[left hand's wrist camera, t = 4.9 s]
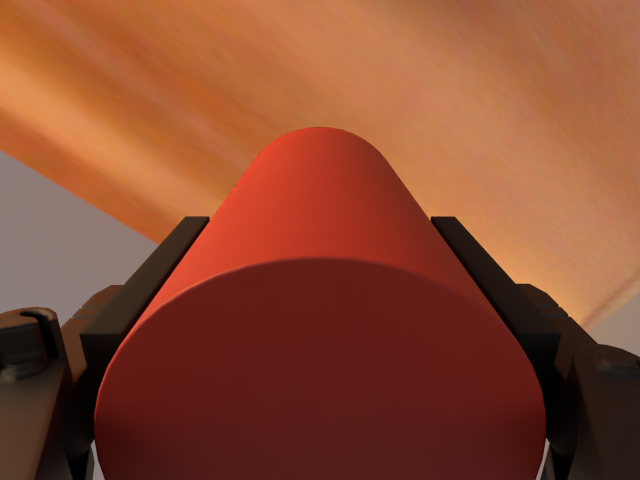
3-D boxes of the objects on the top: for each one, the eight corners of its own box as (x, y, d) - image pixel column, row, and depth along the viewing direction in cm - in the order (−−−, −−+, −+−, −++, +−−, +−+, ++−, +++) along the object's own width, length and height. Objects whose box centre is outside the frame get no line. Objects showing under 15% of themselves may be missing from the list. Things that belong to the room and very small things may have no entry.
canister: (218, 249, 20) (55, 542, 7) (272, 99, 17) (157, 172, 5) (360, 301, 21) (417, 633, 8) (429, 165, 18) (646, 359, 6)
